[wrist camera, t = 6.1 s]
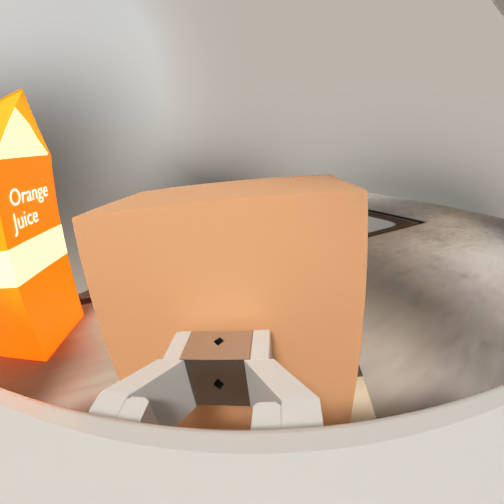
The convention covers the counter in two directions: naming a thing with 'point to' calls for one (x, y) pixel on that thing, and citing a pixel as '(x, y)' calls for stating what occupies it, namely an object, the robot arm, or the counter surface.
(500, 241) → the counter surface
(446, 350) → the counter surface
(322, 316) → the block
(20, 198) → the orange juice
